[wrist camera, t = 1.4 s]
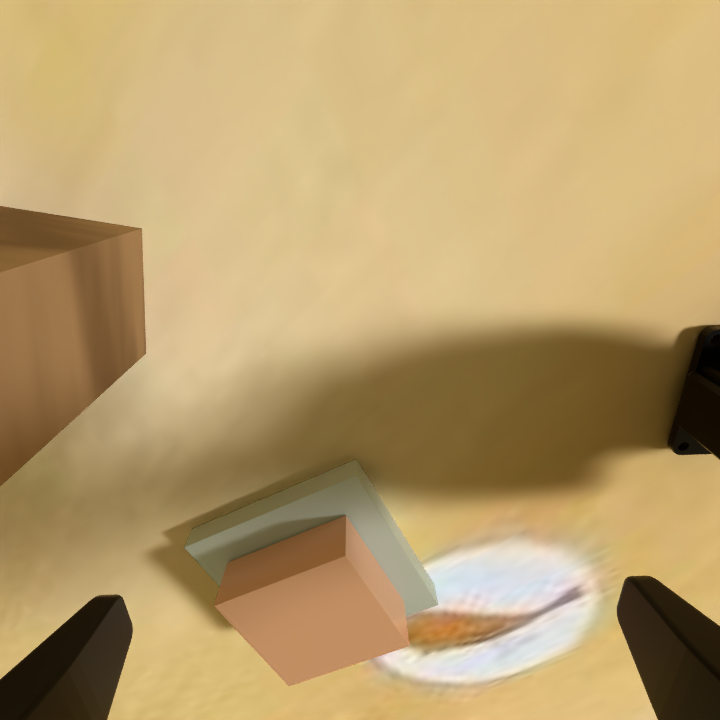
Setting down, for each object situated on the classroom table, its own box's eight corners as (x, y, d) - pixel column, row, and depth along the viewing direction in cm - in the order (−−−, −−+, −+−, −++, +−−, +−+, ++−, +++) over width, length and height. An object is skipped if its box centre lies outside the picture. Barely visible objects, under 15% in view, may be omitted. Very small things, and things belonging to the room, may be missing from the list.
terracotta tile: (346, 515, 22) (345, 555, 20) (403, 601, 25) (409, 645, 23) (227, 562, 23) (213, 606, 21) (294, 640, 26) (288, 686, 24)
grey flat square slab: (356, 450, 23) (356, 475, 21) (432, 574, 27) (438, 604, 25) (196, 519, 25) (184, 547, 23) (288, 626, 29) (283, 658, 27)
